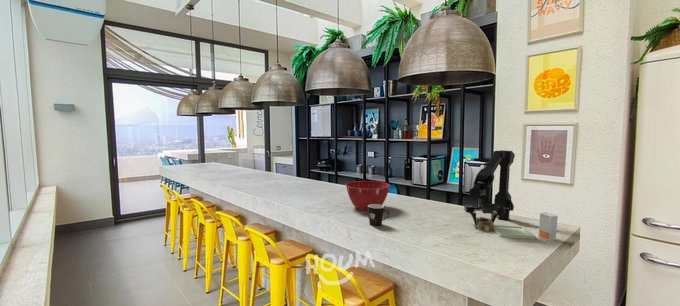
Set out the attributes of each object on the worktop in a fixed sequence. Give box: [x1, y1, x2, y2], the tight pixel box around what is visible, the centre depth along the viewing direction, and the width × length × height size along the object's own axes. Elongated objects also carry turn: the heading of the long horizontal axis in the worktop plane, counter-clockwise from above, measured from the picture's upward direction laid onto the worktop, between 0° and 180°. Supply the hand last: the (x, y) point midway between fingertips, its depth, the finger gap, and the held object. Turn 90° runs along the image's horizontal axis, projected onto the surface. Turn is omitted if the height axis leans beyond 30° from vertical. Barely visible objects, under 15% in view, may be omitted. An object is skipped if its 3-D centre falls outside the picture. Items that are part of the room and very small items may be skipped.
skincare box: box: [537, 212, 559, 242], centre depth 153 cm, size 6×4×12 cm
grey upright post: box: [472, 216, 487, 231], centre depth 169 cm, size 8×8×6 cm
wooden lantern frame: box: [476, 217, 495, 232], centre depth 168 cm, size 9×7×4 cm
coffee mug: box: [367, 204, 390, 227], centre depth 171 cm, size 12×9×10 cm
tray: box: [492, 224, 537, 240], centre depth 161 cm, size 16×16×2 cm
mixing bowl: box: [345, 180, 391, 211], centre depth 207 cm, size 28×28×16 cm
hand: (483, 225), depth 169 cm, fingers open, 7 cm apart
